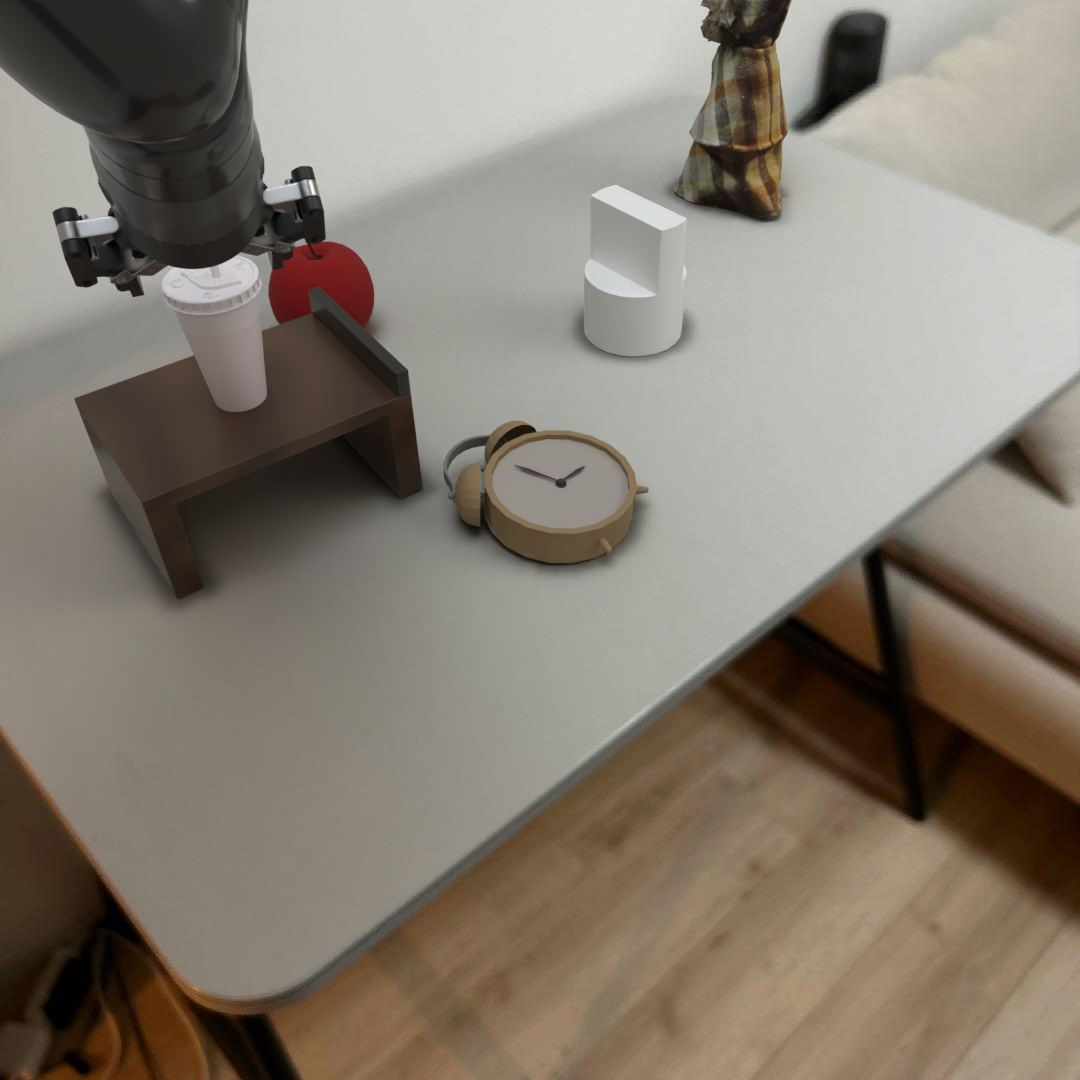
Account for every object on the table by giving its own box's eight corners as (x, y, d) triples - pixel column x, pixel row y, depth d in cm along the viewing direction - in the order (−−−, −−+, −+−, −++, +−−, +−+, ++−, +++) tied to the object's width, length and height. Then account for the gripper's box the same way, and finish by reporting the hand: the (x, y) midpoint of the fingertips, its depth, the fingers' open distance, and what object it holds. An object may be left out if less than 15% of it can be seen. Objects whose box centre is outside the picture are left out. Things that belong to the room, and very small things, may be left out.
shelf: (177, 600, 76) (132, 478, 68) (111, 493, 84) (64, 375, 77) (423, 489, 84) (408, 369, 76) (340, 402, 93) (319, 286, 85)
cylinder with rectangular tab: (563, 327, 100) (562, 205, 92) (633, 292, 104) (638, 173, 96) (631, 368, 95) (637, 244, 87) (702, 330, 99) (714, 208, 91)
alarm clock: (605, 556, 74) (413, 470, 77) (592, 601, 78) (410, 517, 81) (662, 460, 81) (486, 384, 84) (648, 505, 85) (480, 431, 88)
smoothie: (256, 431, 75) (209, 247, 65) (177, 413, 76) (120, 231, 67) (302, 379, 79) (264, 200, 69) (226, 363, 81) (179, 186, 71)
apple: (287, 371, 96) (265, 270, 89) (271, 319, 102) (249, 220, 95) (389, 350, 98) (375, 250, 91) (367, 300, 104) (353, 203, 97)
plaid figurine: (653, 215, 113) (728, -44, 97) (643, 161, 123) (709, -81, 107) (780, 240, 115) (875, -10, 99) (760, 185, 125) (843, -50, 109)
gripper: (308, 67, 53) (302, 189, 69) (2, 112, 50) (70, 230, 66) (348, 214, 53) (333, 303, 69) (45, 270, 50) (102, 349, 66)
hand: (204, 267), depth 67 cm, fingers open, 8 cm apart
